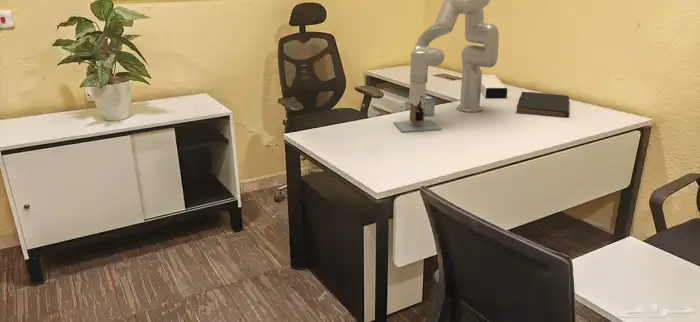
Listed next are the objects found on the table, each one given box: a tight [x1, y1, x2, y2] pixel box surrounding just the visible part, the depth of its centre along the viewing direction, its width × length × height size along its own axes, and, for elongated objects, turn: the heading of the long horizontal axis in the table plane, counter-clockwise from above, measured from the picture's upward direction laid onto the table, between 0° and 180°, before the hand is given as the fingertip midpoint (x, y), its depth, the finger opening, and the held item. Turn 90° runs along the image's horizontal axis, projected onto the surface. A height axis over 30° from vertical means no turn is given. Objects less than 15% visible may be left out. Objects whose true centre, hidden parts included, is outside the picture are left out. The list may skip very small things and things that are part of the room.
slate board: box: [393, 119, 442, 134], centre depth 240 cm, size 14×18×1 cm
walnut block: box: [409, 102, 425, 124], centre depth 238 cm, size 5×5×8 cm
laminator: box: [481, 74, 508, 99], centre depth 301 cm, size 34×12×6 cm, turn 177°
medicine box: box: [424, 94, 436, 117], centre depth 258 cm, size 8×4×9 cm, turn 27°
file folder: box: [516, 91, 570, 119], centre depth 269 cm, size 33×4×24 cm
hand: (417, 118), depth 239 cm, fingers closed on walnut block, 5 cm apart
